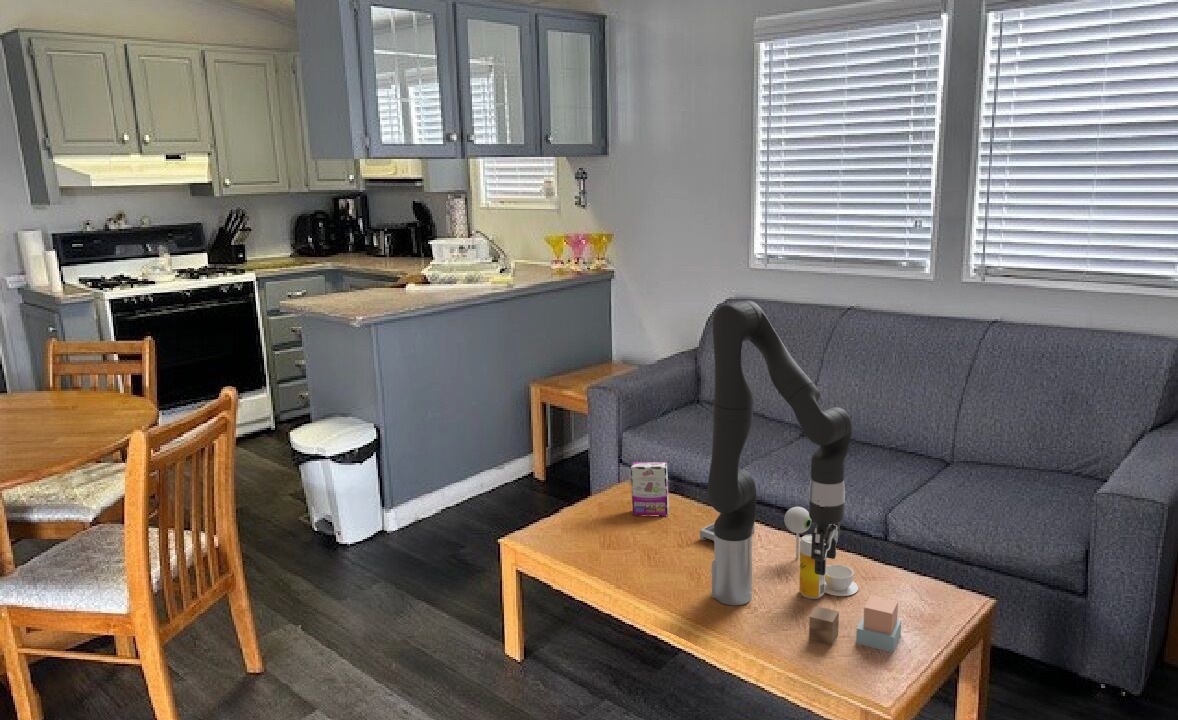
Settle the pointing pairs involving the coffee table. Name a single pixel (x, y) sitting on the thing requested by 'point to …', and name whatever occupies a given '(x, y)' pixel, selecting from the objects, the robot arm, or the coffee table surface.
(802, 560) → the beer can
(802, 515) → the lollipop
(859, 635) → the tower base
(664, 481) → the candy bar box
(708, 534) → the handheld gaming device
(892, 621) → the tower top
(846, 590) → the teacup
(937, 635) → the coffee table surface
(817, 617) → the walnut block
